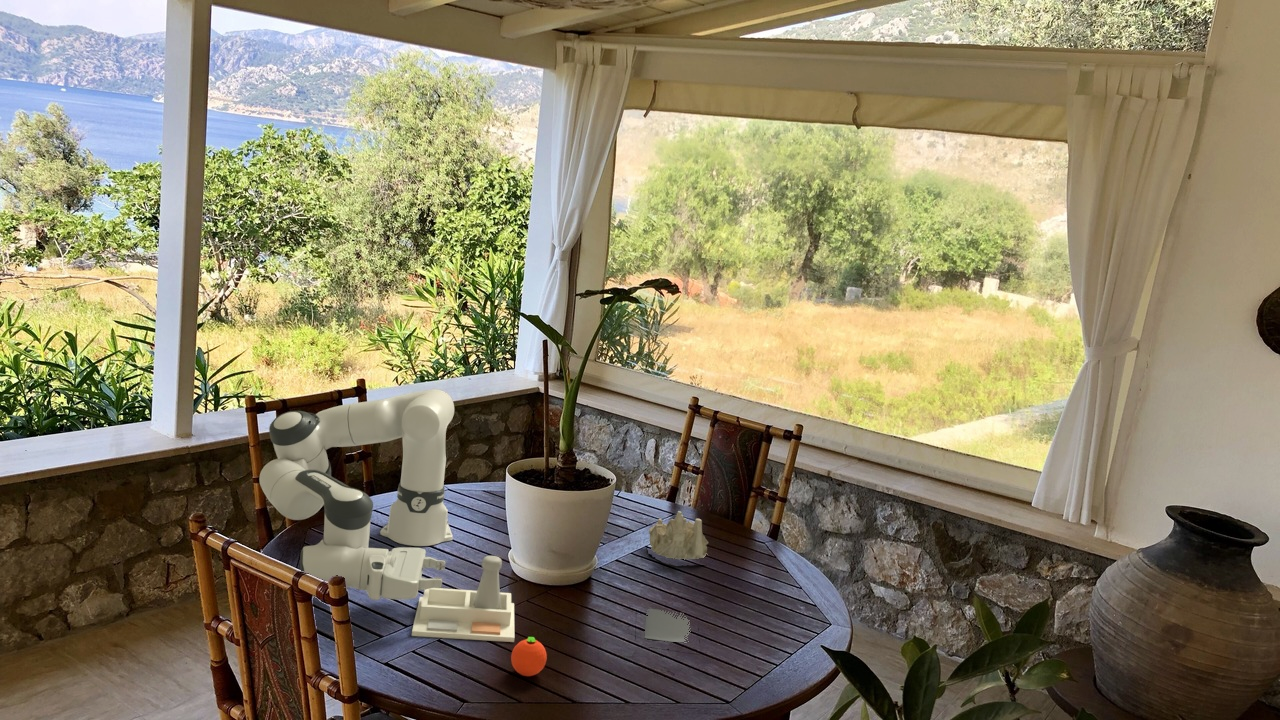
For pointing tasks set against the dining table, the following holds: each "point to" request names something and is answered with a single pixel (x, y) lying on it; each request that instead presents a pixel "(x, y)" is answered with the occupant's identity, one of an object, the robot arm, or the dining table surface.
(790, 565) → the dining table surface
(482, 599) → the salt shaker
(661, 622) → the wallet
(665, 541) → the sand castle
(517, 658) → the clementine
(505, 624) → the divided organizer tray
